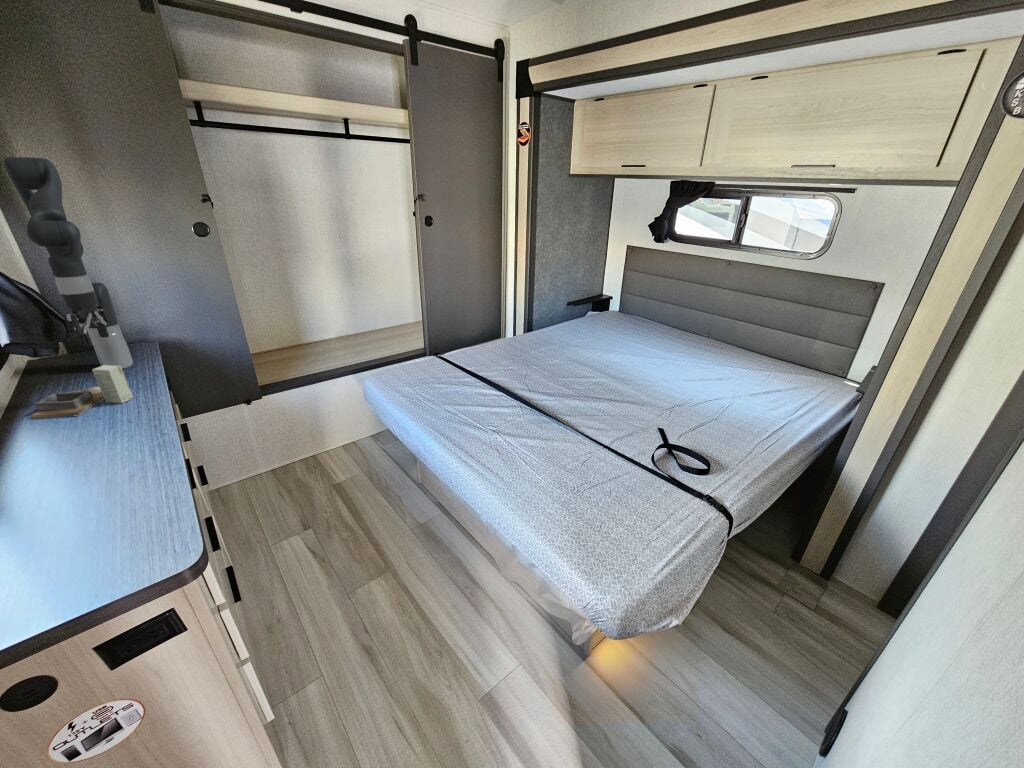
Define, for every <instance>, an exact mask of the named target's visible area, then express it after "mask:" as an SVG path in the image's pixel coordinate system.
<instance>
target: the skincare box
mask: <svg viewBox="0 0 1024 768" xmlns="http://www.w3.org/2000/svg"><path fill="white" fill-rule="evenodd" d="M91 370H92V373H93V374H94V375H93V376H94V377H95V380H96V382H97V384H98V387H100V389H101V392H102V394H103V396H104V398H105V399H104V400H105V403H109V402H113V403H114V404H124V403H127V402H128V401H130V400H133V399H134V396H133V394H132V391H131V389H130V386H129V383H128V381H127V379H126V376H125V373H124V372H123V369H121V366H114V365H103V366H101V365H100V366H98V367H95V368H93V369H91ZM113 403H112V404H113Z"/></svg>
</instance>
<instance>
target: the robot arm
mask: <svg viewBox="0 0 1024 768" xmlns="http://www.w3.org/2000/svg"><path fill="white" fill-rule="evenodd" d="M3 165H4V168H5V170H6V173H7V175H8V177H9V179H10V181H11V183H12V184H13V186H14V188H15V190H16V192H17V193H18V195H19V196H20V198H21V200H22V202H23V204H24V205H25V207H26V209H27V211H28V213H29V214H30V217H29V220H28V222H27V225H26V233H27V234H26V235H27V237H28V238H29V240H30V241H31V242H33V243H34V244H35V245H37V246H40V247H45V249H46V251H47V253H48V255H49V257H48V259H47V260H48V265H49V266H50V270H51V271H52V275H53V276H54V280H55V284H56V287H57V290H58V293H59V295H60V297H61V300H62V302H63V305H64V307H66V308H68V309H70V311H71V313H68V314H66V313H65V314H63V319H64V322H65V325H66V328H67V330H68V333H69V334H70V335H76V336H77V338H78V340H79V342H80V345H81V346H83V347H89V346H93V348H94V351H95V353H96V357H97V359H98V361H99V364H100V366H103V365H114V366H121V369H122V370H123V369H126V368H127V369H128V368H129V367H131V366H133V363H134V360H133V357H132V354H131V352H130V348H129V347H128V343H127V341H126V340H125V337H124V335H123V333H122V330H121V327H120V324H119V321H118V319H117V315H116V313H115V309H114V307H113V303H112V298H111V296H110V293H109V290H108V288H107V286H106V285H105V284H104V283H101V282H92V281H91V280H90V278H89V276H88V273H87V271H86V268H85V265H84V262H83V259H82V257H83V253H84V246H83V244H82V240H81V239H82V237H81V236H82V235H81V232H80V229H79V228H78V226H77V225H75V224H74V222H72V221H69V220H68V219H67V218H68V217H67V215H66V211H65V208H64V205H63V184H62V179H61V177H60V174H59V172H58V170H57V167H56V166H55V165H54V163H53V162H52V161H51V160H49V159H47V158H45V157H44V158H43V157H30V156H28V157H26V156H24V157H23V156H7V157H5V158H3ZM33 191H34V192H33Z"/></svg>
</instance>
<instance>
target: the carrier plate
mask: <svg viewBox="0 0 1024 768" xmlns="http://www.w3.org/2000/svg"><path fill="white" fill-rule="evenodd" d="M102 399H104V396H103V394H102V392H101V389H100V387H99V386H92V387H89V388H85V389H83V390H72V391H67V392H54V393H52V394H50V395H48V396H46V397H45V398H42V399H41V400H39V401H38V402H36V403H35V407H36V410H37V411H36V412H34V413H32V414H30V417H31V419H32V420H35V419H38V418H39V419H51V418H50V417H57V418H65V417H64V416H74V415H79V414H80V413H82V412H83V411H85V410H86V409H88V408H90V407H91V406H93V405H94V404H96V403H97V402H99V401H101V400H102ZM104 400H105V399H104ZM102 401H103V400H102ZM102 401H101V402H102ZM99 403H100V402H99ZM96 405H97V404H96ZM93 407H94V406H93ZM90 409H91V408H90ZM48 417H49V418H48Z"/></svg>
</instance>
